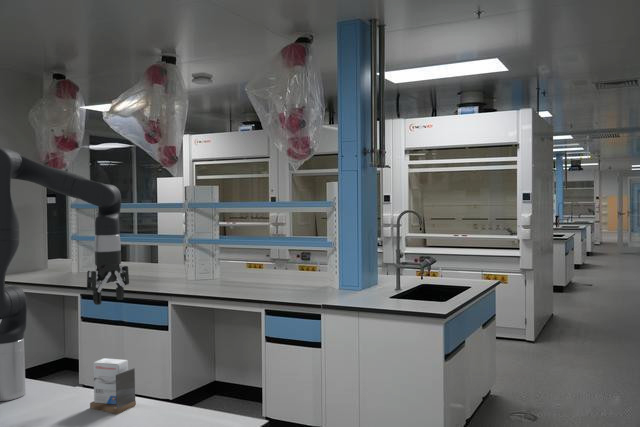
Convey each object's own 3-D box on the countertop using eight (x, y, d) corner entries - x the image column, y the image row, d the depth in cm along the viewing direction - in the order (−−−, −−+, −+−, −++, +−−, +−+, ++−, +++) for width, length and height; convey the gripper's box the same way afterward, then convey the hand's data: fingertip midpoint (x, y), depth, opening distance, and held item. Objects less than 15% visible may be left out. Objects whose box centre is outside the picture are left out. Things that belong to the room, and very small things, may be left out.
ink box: (129, 399, 162) (128, 359, 161) (119, 405, 157) (118, 364, 157) (104, 396, 164) (103, 357, 163) (93, 403, 159) (92, 362, 159)
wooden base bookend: (90, 408, 159) (89, 370, 159) (109, 399, 166) (108, 363, 165) (117, 414, 154) (116, 375, 154) (135, 405, 161) (135, 367, 160)
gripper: (97, 252, 163) (99, 307, 163) (134, 247, 175) (135, 298, 176) (79, 251, 166) (81, 305, 166) (116, 246, 179) (118, 297, 179)
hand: (109, 301), depth 171 cm, fingers open, 8 cm apart
